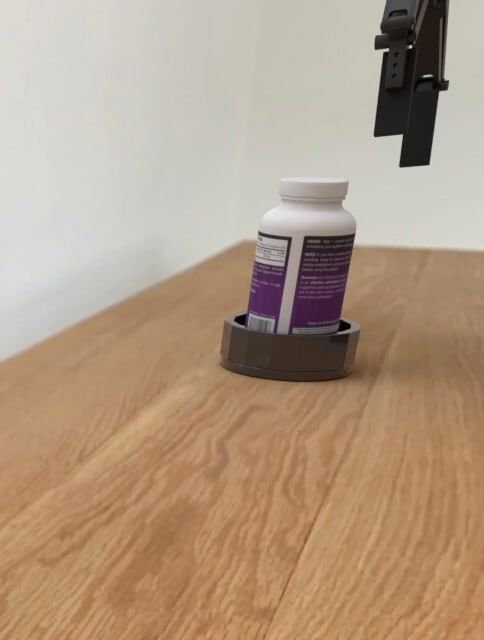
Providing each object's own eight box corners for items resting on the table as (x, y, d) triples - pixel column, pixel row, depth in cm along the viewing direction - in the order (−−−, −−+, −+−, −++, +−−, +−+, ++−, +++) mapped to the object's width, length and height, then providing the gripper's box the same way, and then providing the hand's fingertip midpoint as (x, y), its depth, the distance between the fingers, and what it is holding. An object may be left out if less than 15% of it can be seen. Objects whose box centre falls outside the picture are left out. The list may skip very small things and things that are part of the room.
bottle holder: (351, 357, 104) (360, 315, 102) (351, 385, 94) (361, 339, 92) (225, 348, 107) (231, 306, 105) (213, 375, 97) (219, 329, 95)
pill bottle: (338, 352, 102) (371, 177, 95) (325, 370, 96) (360, 184, 88) (249, 343, 105) (275, 173, 97) (232, 360, 99) (258, 180, 91)
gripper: (413, -57, 109) (383, 180, 115) (364, -172, 88) (332, 124, 94) (497, -73, 105) (462, 173, 111) (467, -196, 85) (427, 114, 91)
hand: (402, 151), depth 103 cm, fingers open, 13 cm apart
